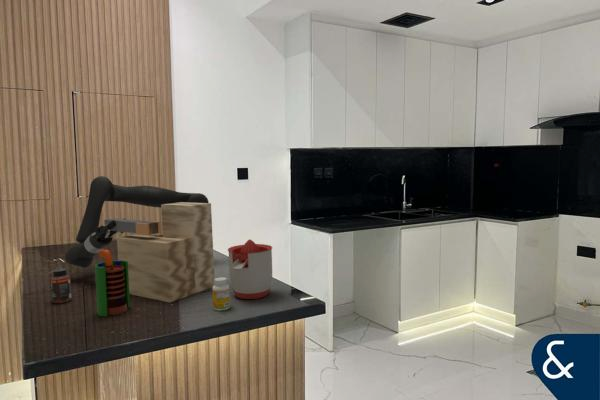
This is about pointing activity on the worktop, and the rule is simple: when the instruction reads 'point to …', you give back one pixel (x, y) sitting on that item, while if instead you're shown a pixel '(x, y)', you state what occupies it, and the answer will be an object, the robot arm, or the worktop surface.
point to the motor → (111, 285)
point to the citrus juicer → (250, 269)
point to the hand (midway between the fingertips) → (120, 221)
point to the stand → (172, 254)
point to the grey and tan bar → (135, 226)
